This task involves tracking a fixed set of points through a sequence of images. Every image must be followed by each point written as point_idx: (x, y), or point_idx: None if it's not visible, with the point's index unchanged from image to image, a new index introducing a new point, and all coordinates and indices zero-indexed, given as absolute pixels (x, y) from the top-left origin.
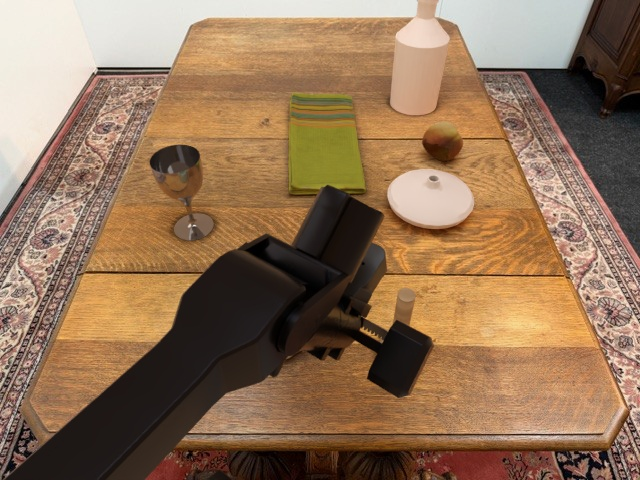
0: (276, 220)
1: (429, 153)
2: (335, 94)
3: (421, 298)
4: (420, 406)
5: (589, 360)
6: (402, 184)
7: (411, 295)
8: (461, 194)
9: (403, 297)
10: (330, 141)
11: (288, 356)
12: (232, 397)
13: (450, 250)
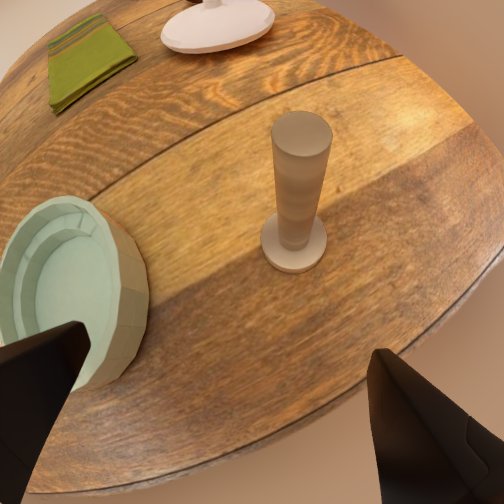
0: (48, 152)
1: (193, 2)
2: (85, 19)
3: None
4: (376, 315)
5: (481, 138)
6: (175, 23)
7: (316, 128)
8: (252, 4)
9: (299, 145)
10: (87, 46)
11: (132, 356)
12: (111, 438)
13: (276, 61)
